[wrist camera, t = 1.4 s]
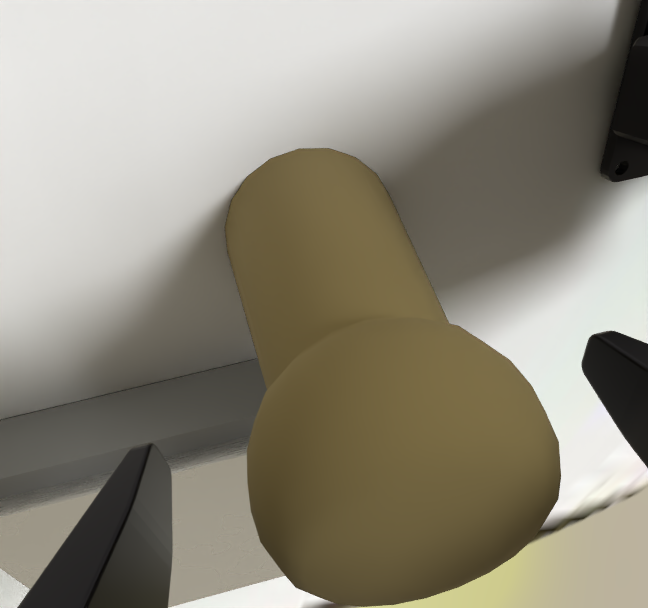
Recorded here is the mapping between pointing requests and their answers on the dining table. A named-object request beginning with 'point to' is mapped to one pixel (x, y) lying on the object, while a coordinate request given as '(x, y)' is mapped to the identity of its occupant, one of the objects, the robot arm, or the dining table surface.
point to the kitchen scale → (108, 451)
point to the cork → (374, 398)
